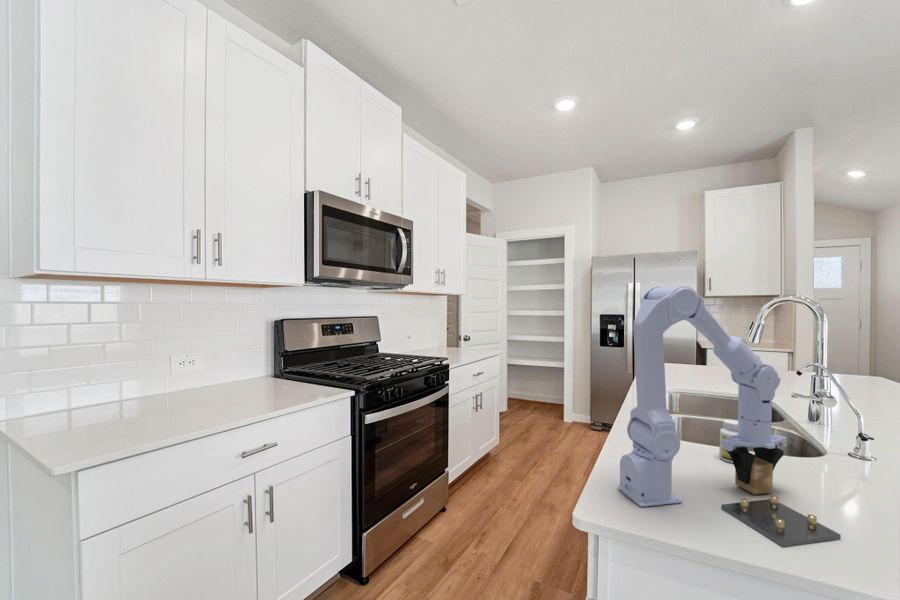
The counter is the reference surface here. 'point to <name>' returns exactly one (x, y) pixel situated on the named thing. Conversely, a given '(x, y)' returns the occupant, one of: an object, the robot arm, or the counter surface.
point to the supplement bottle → (727, 432)
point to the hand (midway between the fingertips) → (753, 480)
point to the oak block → (759, 478)
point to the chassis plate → (780, 522)
